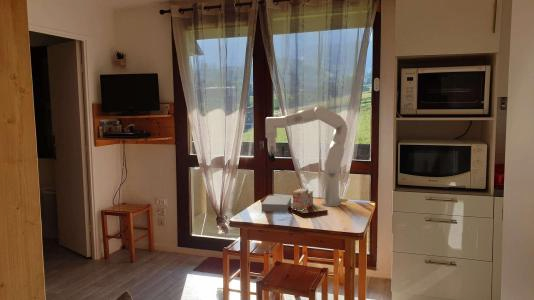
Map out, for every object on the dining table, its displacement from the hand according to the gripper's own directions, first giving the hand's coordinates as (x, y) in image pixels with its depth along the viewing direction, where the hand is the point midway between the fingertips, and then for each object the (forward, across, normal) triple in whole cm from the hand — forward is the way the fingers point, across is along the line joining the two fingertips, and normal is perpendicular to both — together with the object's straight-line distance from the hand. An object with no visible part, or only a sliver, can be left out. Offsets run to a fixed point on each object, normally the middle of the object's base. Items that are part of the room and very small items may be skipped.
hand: (271, 160), depth 288 cm
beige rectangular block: (+30, -15, -18) cm, 38 cm away
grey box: (+30, -11, -2) cm, 31 cm away
